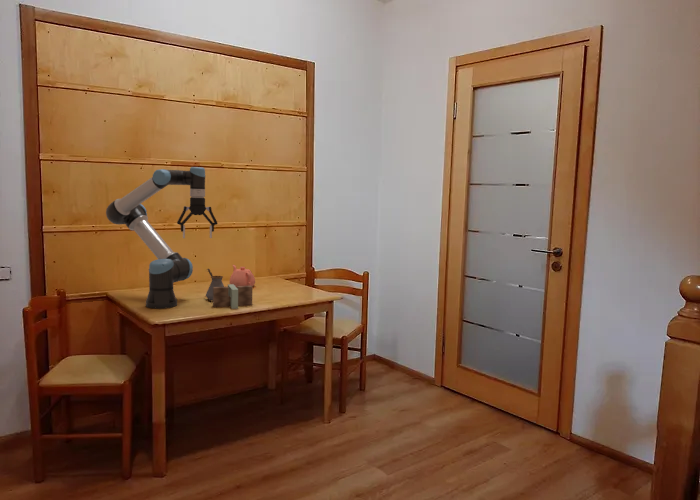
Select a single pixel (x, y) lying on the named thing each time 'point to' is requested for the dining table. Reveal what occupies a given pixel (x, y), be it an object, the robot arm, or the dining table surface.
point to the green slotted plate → (233, 296)
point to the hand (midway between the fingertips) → (197, 238)
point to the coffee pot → (214, 285)
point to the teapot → (242, 277)
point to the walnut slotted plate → (224, 300)
